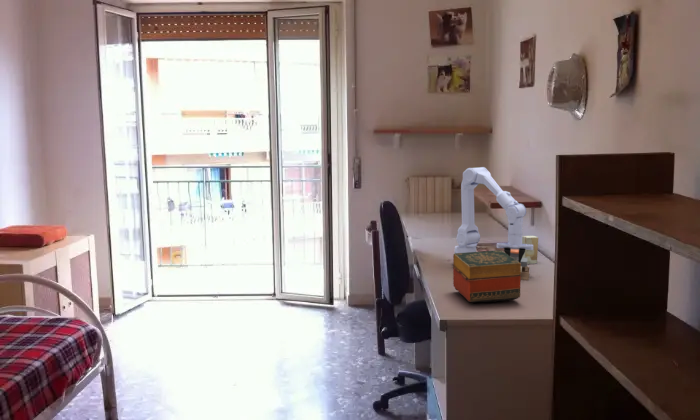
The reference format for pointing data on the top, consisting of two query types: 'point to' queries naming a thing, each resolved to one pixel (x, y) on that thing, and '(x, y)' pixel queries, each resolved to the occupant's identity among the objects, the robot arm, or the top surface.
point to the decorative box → (486, 276)
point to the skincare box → (531, 253)
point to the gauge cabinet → (523, 262)
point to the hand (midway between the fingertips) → (514, 266)
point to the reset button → (514, 253)
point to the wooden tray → (525, 273)
